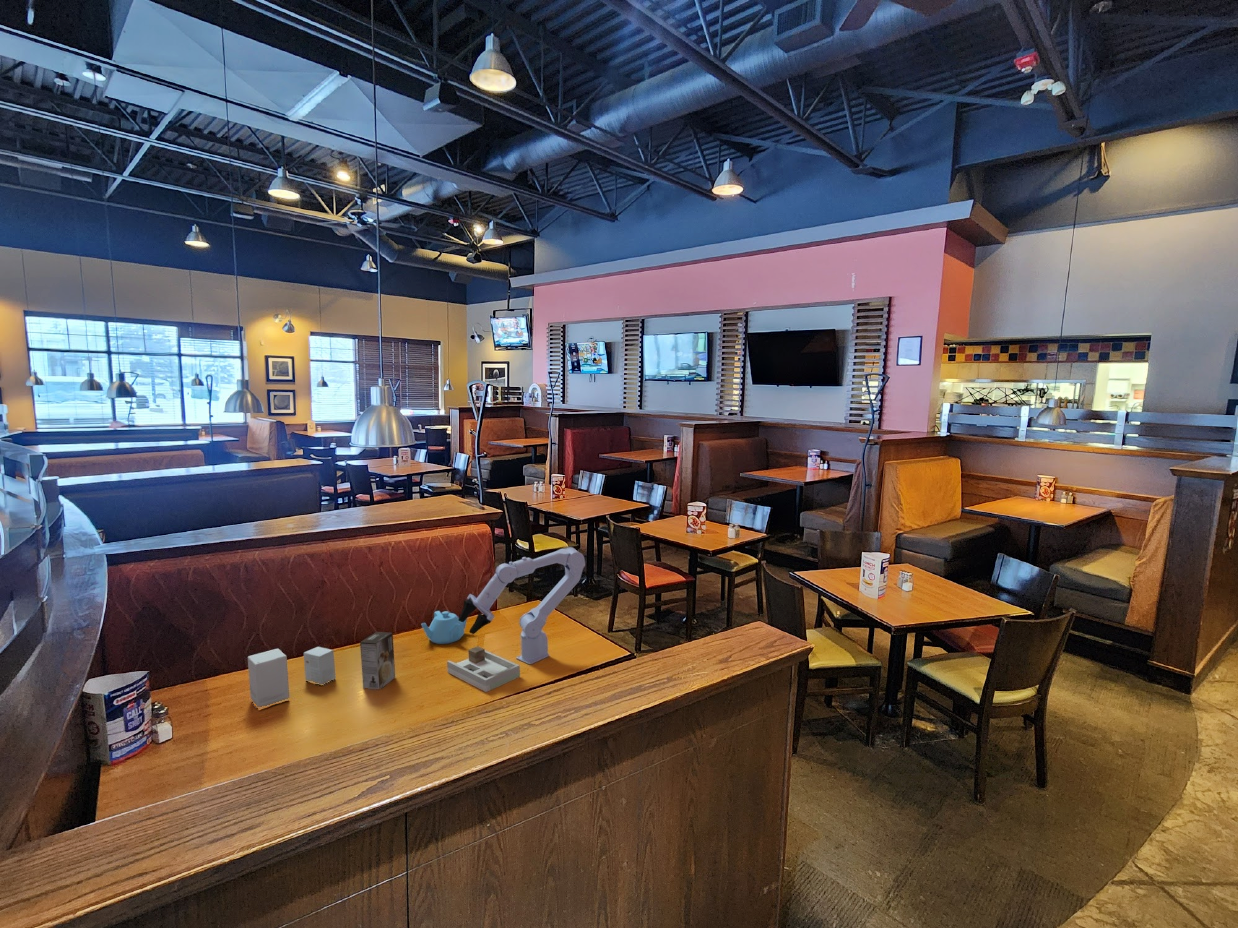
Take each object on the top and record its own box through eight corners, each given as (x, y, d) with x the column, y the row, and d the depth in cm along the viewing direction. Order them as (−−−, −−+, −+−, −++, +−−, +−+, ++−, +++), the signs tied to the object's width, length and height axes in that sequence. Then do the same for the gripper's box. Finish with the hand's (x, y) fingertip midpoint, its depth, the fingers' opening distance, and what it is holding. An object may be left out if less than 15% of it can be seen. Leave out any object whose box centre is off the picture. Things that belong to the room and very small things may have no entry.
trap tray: (481, 658, 211) (480, 648, 211) (519, 676, 197) (519, 665, 196) (447, 672, 200) (447, 661, 200) (486, 692, 186) (485, 680, 186)
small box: (336, 679, 196) (334, 649, 195) (321, 686, 191) (319, 656, 190) (319, 675, 200) (317, 645, 198) (305, 682, 194) (303, 652, 193)
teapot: (471, 630, 238) (470, 605, 237) (460, 645, 223) (459, 618, 222) (434, 630, 238) (433, 605, 237) (421, 645, 224) (419, 618, 222)
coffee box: (379, 675, 198) (376, 630, 197) (395, 677, 197) (393, 632, 196) (362, 688, 189) (359, 641, 188) (379, 690, 188) (377, 642, 187)
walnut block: (478, 656, 208) (477, 645, 208) (484, 659, 206) (484, 648, 205) (468, 660, 205) (468, 649, 205) (475, 663, 203) (475, 652, 202)
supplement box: (290, 701, 182) (287, 655, 180) (258, 711, 176) (254, 664, 174) (282, 691, 188) (278, 647, 187) (250, 701, 182) (246, 655, 180)
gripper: (471, 580, 205) (448, 612, 203) (493, 601, 195) (468, 635, 193) (484, 587, 210) (461, 618, 208) (506, 607, 201) (482, 640, 198)
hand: (465, 626), depth 201 cm, fingers open, 7 cm apart
